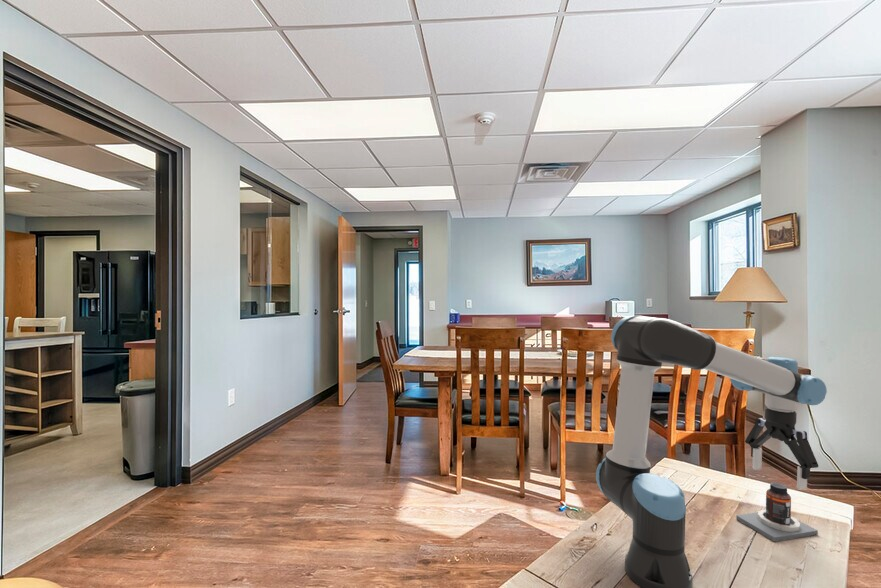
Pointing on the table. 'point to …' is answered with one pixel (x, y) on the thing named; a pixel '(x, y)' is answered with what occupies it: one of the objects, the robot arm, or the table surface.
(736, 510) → the table surface
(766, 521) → the hub board
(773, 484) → the supplement bottle
